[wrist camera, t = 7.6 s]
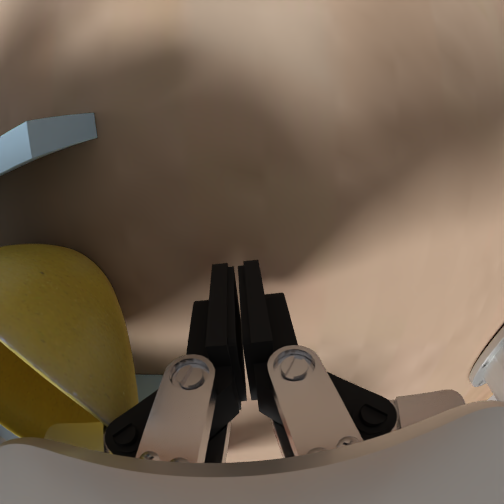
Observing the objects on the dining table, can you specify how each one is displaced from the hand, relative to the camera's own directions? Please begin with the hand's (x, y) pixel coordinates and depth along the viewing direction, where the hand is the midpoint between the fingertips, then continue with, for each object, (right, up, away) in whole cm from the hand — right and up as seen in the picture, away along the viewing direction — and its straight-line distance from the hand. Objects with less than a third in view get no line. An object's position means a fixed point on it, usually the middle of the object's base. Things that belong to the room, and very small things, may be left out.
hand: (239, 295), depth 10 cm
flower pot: (-8, 0, +1) cm, 8 cm away
